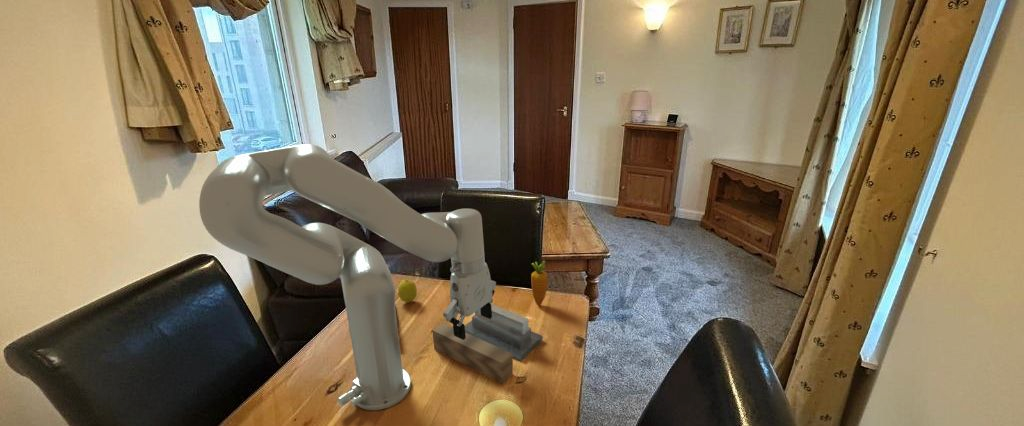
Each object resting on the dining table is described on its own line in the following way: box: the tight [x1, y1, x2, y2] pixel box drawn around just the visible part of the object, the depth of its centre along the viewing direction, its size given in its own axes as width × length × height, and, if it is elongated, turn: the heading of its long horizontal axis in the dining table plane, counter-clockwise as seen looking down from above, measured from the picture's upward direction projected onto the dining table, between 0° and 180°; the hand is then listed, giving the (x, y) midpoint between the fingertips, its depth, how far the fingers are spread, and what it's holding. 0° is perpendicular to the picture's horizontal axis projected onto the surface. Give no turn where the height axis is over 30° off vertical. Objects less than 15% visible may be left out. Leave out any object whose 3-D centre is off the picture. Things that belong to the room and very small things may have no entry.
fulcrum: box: [464, 303, 543, 362], centre depth 108 cm, size 10×20×8 cm, turn 54°
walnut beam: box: [432, 322, 514, 384], centre depth 100 cm, size 22×4×6 cm, turn 55°
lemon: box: [397, 279, 418, 304], centre depth 125 cm, size 6×6×8 cm
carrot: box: [530, 260, 548, 307], centre depth 122 cm, size 5×5×15 cm
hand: (473, 326), depth 98 cm, fingers open, 9 cm apart
